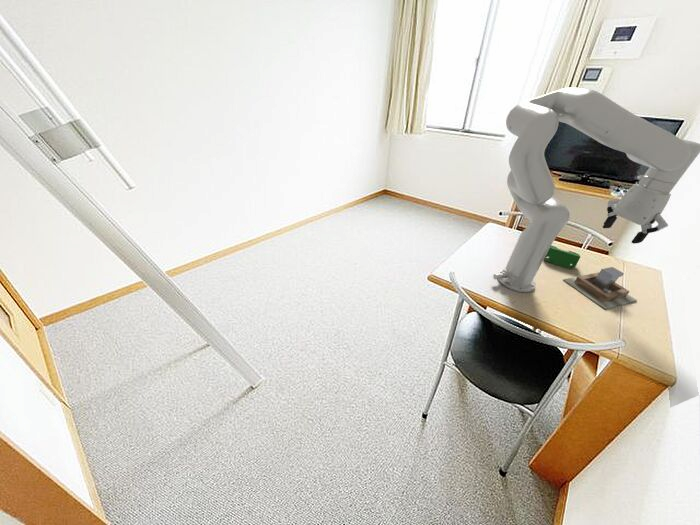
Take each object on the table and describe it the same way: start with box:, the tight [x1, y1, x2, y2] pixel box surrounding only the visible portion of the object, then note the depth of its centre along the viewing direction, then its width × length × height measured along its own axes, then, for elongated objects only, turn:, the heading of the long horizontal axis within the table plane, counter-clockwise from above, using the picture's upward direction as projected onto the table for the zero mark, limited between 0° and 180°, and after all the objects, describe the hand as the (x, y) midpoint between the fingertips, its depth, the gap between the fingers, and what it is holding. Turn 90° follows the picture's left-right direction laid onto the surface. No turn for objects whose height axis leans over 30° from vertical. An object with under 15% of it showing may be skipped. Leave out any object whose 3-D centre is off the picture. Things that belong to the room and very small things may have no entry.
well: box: [563, 272, 638, 310], centre depth 107 cm, size 16×16×3 cm
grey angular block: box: [592, 266, 625, 293], centre depth 106 cm, size 6×4×8 cm
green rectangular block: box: [543, 245, 581, 270], centre depth 121 cm, size 12×6×9 cm, turn 52°
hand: (620, 235), depth 98 cm, fingers open, 9 cm apart
